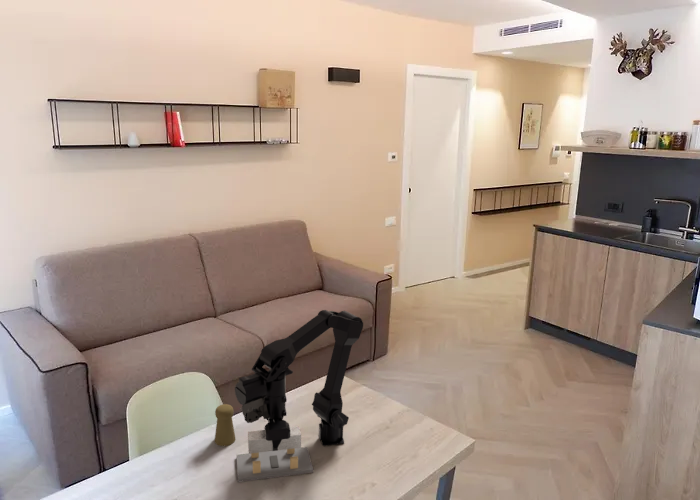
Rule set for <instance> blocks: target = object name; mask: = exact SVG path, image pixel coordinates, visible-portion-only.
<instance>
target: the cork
mask: <svg viewBox="0 0 700 500" xmlns="http://www.w3.org/2000/svg"><path fill="white" fill-rule="evenodd" d="M214 412H215V413H214V415H215V418H216V426H215V434H214V444H215V445H217V446H219V447H228V446H231V445H233V444H234V443H235V441H236V434H235V429H234V423H233V422H234V421H233V415H234V407H233V406H232V405H231V404H227V403H222V404H220V405H218V406H217V407H216V409H215V411H214Z"/></svg>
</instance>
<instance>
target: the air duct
mask: <svg viewBox="0 0 700 500" xmlns="http://www.w3.org/2000/svg"><path fill="white" fill-rule="evenodd" d="M289 427H290V438H289V439H282V441H281V442H280V444H279V446H278V448H273V444H272V441H267V440H266V437H265V429H261V430H251V431H247V449H248V451H247V452H248V453H249V454H250V453H259V452H267V451H277V450H285V449H293V448H301V447H302V432H301V430H300V426H298V425H297V426H289Z"/></svg>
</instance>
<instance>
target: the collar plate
mask: <svg viewBox="0 0 700 500" xmlns="http://www.w3.org/2000/svg"><path fill="white" fill-rule="evenodd" d="M236 473H237V483H238V482H239V483H240V482H248V481H256V480H265V479H271V478H279V477H286V476H288V477H289V476H295V475H304V474H312V473H314V468H313V463H312V459H311V456H310V452H309V447H308V446H303V447H302V446H301V448H293V449H285V450H277V451H267V452H259V453H250V454H249V452H248V453H241V454H236Z"/></svg>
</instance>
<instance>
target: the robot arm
mask: <svg viewBox="0 0 700 500" xmlns="http://www.w3.org/2000/svg"><path fill="white" fill-rule="evenodd" d="M331 328H332V332H333V338H334V344H333V349H332V353H331V358H330V361H329V366H328V370H327V375H326V378H325V382H324V386H323V387H322V389H321V390H320V391H319V392H318V391H317V392H315V393H314V397H313V402H312V403H311V405H312V410H313V412H314V414H316V416H317V417H318V418H320V422H319V423H318V438H319V441H320V442H321V444H322V446H325V447H326V446H331V445H332V446H334V445H343V444H345V440H344V426H346V425H347V424H348V422H349V416H348V415H346V414H345V413H344V412H343V398H342V394H341V391H342V387H343V382H344V378H345V375H346V371H347V366H348V363H349V359H350V355H351V351H352V347H353V345H354V344H355V343H356V342H357V341H358V340H359V339H360V337H361V335H362V331H363V329H364V321H363V320H362V318H361V317H359V316H357V315H355V314H354V313H351V312H350V311H346V310H341V311H340V312H339V311H333V310H327V309H321V310H320V311H318V313H317V315H316V316H314V317H313V318H311V319H310V320H309V321H307V322H306V323H305V324H303V325H302V326H300V327H299V328H297V329H296V330H295V331H294V332H293V333H291V334H290V335H288V336H287V337H284V338H282V339H276V340H274V341H272V342H270V343H268V344H266V345H265V346H264V347H262V348H261V351H260V354H259V356H258V357H257V359H256V361H255V363H254V364H253V366H252V368H251V371H253V373H252V374H250V375H247V376H246V375H245V376H241V377H239V378H238V382H237V383H236V384H235V386H234V395H235V398H236V400H237V402H238V403H239V404H240V405H241V411H242V412H241V413H242V415H243V418H244V421H245V422H246V423H247V424H252V423H254V422H256V421H259V419H260V418H262V417H263V420H267V423H266V424H265V425H264V427H263V428H264V429H263V430H265V437H266V440H267V441H272V444H273V448H278V446H279V444H280V442H281V441H282V439H289V438H290V427H291V426H290V423H289V422H288V421H286V420H284V417H286V416H287V410H286V403H287V395H286V381H287V380H286V377H287V376H289V375H292V374H293V373H294V371H293V370H292V369H290V368H289V367H290V366H291V365H292V364H293V362H295V359H296V356H297V355H298V353H299V352H300V351H302V350H303V349H304V348H305V347H307V346H309V345H310V344H311V343H312V342H313V341H315V340H317V338H319V337H320V336H321V335H323V334H324V333H326V332H327V331H328V330H329V329H331ZM264 366H265V367H266V368H268V369H269V370H267V369H265V368H264Z"/></svg>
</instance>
